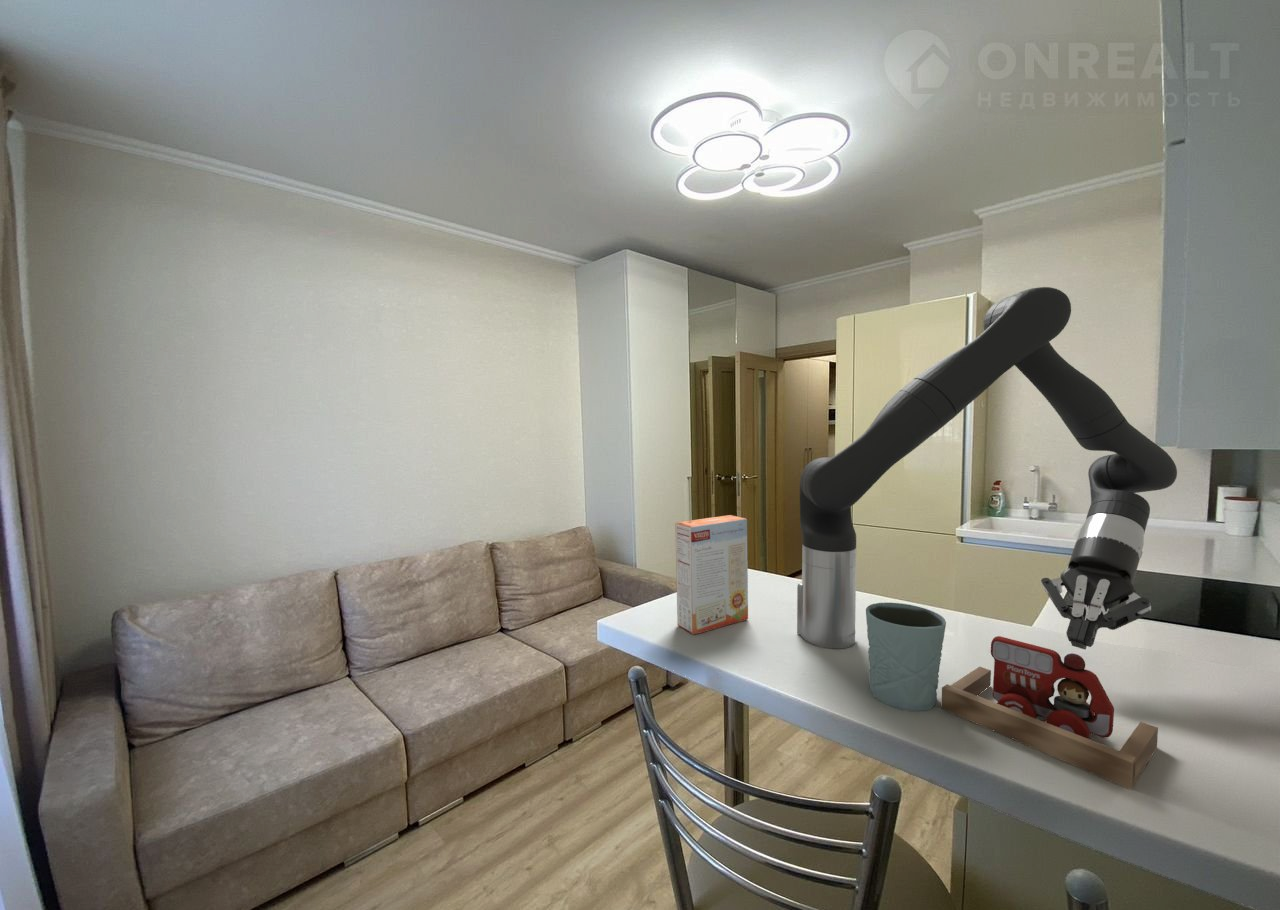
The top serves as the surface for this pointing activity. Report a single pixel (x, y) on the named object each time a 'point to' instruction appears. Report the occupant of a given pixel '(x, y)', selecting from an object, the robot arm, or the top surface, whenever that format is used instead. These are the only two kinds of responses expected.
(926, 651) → the grey-green textured vase
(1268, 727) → the top surface
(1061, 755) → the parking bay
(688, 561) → the cracker box
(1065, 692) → the toy fire truck
